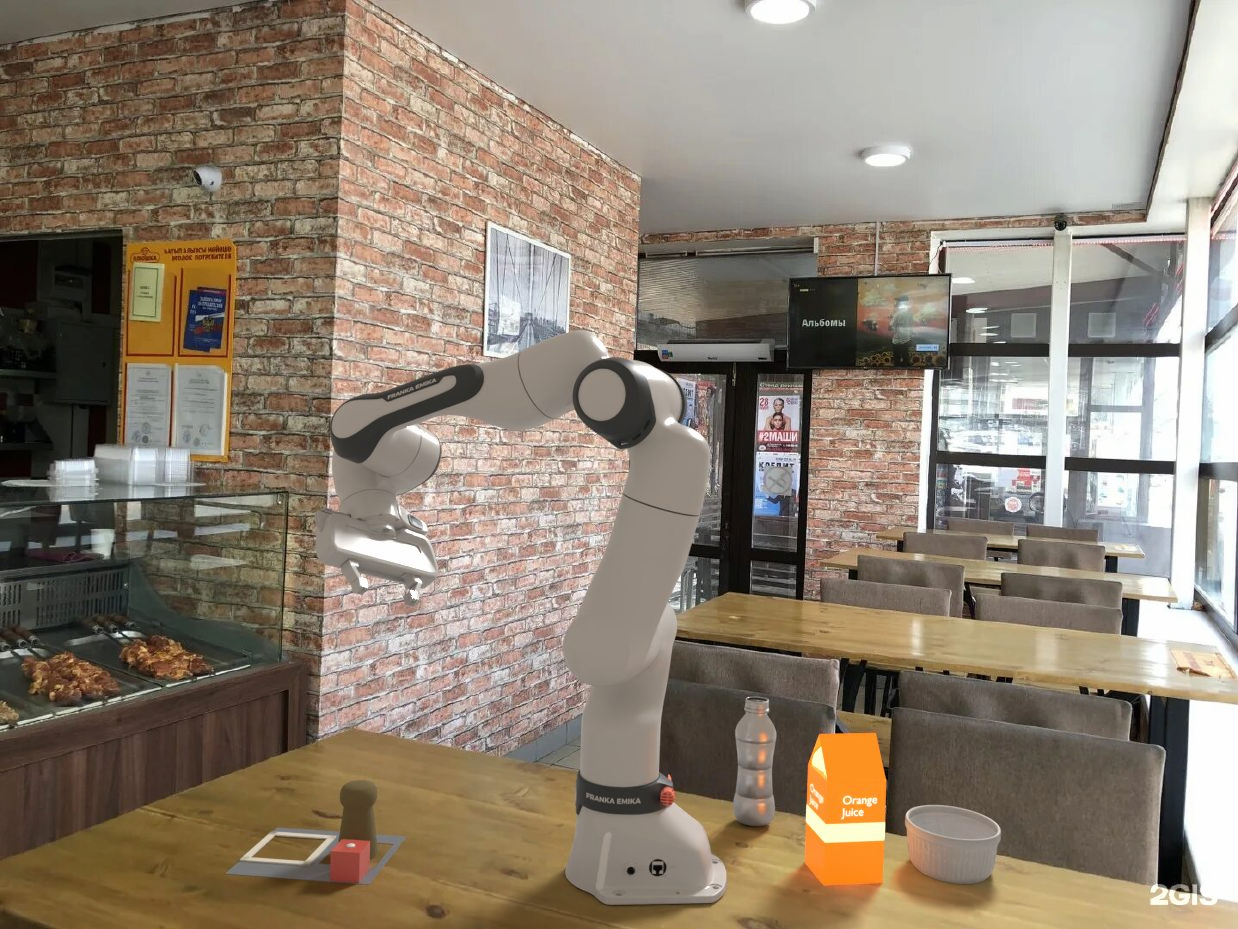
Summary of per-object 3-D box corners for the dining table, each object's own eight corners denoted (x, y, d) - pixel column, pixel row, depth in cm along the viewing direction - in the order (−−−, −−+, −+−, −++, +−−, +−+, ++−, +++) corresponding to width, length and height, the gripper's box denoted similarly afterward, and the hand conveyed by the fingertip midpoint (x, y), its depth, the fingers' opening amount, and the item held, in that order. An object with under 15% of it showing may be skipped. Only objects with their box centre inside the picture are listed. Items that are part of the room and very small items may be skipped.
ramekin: (1013, 869, 143) (1015, 821, 143) (978, 898, 133) (980, 848, 133) (926, 842, 152) (928, 797, 152) (887, 868, 142) (889, 820, 142)
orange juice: (883, 883, 137) (888, 741, 136) (823, 886, 135) (828, 742, 135) (860, 859, 145) (865, 725, 144) (803, 861, 143) (808, 726, 143)
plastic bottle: (777, 832, 154) (781, 705, 153) (734, 830, 154) (738, 704, 153) (771, 816, 160) (775, 695, 160) (730, 815, 160) (734, 693, 160)
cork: (355, 872, 135) (357, 793, 135) (325, 861, 138) (327, 784, 138) (387, 857, 140) (389, 781, 140) (358, 847, 144) (359, 772, 143)
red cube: (369, 870, 134) (370, 840, 134) (359, 883, 130) (359, 852, 130) (341, 868, 135) (341, 838, 134) (329, 880, 131) (330, 850, 131)
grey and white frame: (406, 841, 146) (406, 835, 146) (369, 890, 130) (369, 883, 130) (277, 832, 148) (277, 826, 148) (225, 879, 132) (225, 872, 132)
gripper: (326, 492, 141) (340, 572, 133) (434, 526, 156) (453, 599, 148) (300, 517, 144) (313, 596, 136) (409, 548, 158) (426, 621, 151)
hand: (387, 598), depth 142 cm, fingers open, 8 cm apart
